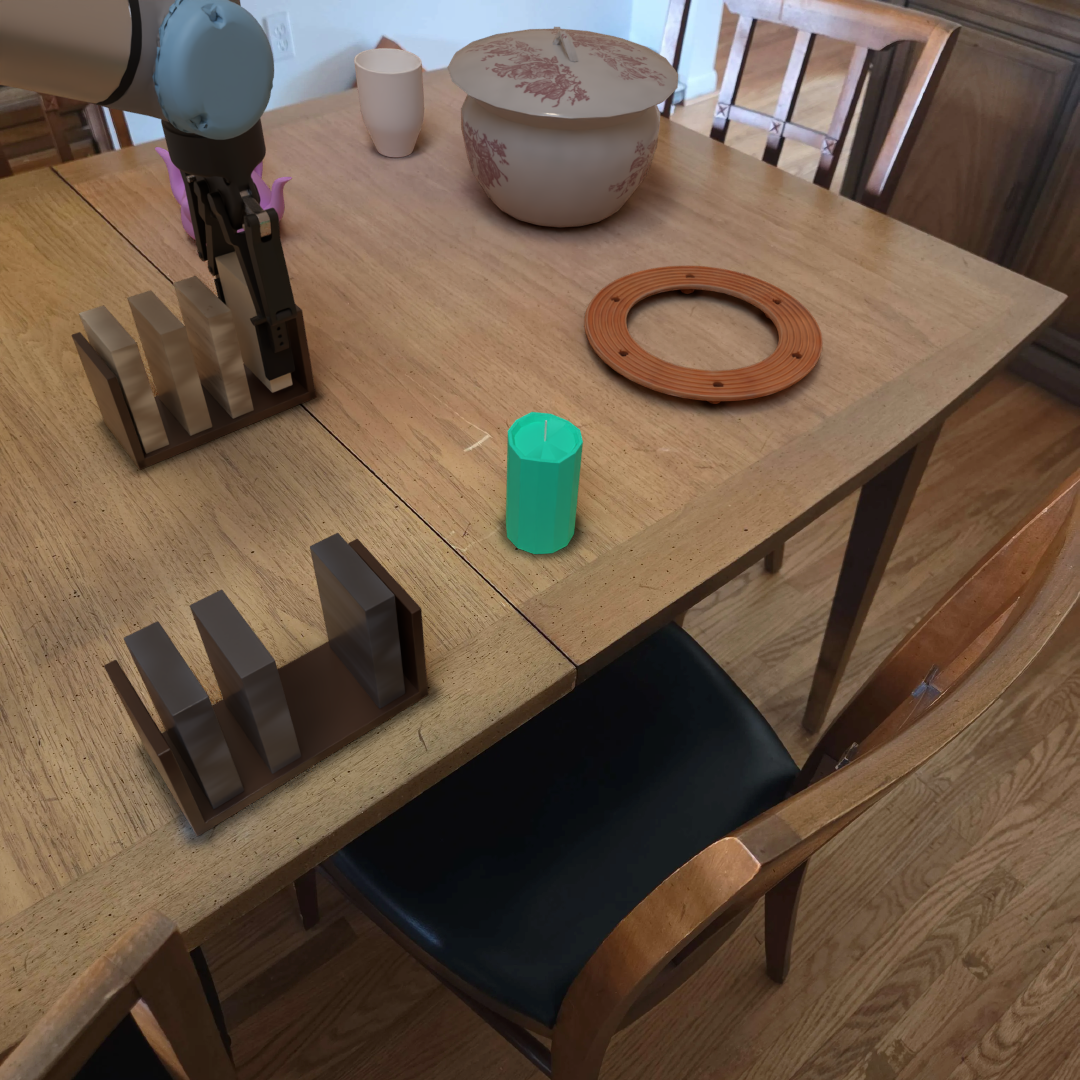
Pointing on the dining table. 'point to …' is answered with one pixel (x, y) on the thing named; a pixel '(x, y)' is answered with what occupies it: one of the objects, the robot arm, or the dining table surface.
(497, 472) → the dining table surface
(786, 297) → the ring
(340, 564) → the grey rack
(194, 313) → the cream rack
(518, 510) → the candle
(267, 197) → the teapot
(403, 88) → the mug
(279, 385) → the cream book
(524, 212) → the chamber pot
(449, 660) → the dining table surface
